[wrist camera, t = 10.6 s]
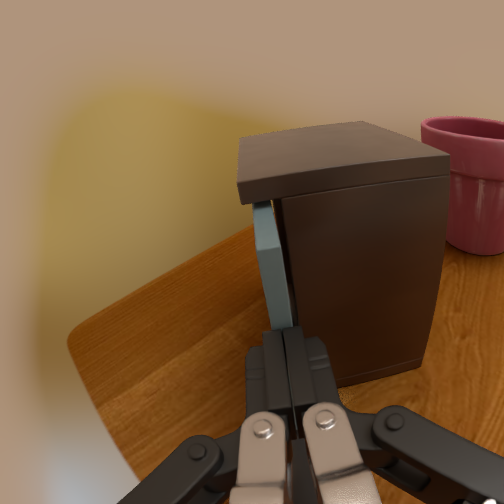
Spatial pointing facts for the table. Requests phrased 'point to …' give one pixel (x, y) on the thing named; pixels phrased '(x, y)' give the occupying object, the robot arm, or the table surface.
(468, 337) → the table surface
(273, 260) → the sliding door
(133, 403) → the table surface
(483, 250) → the flower pot
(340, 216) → the cabinet
